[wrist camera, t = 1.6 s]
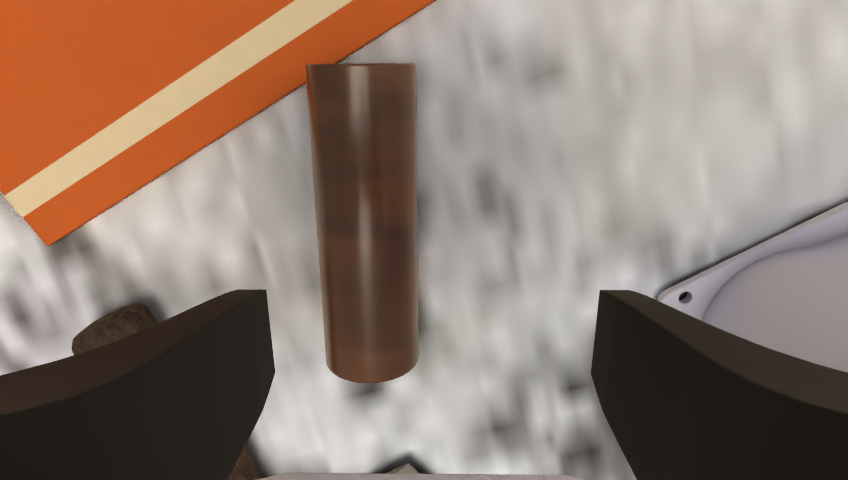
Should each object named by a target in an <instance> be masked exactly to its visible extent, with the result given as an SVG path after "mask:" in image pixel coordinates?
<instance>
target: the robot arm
mask: <svg viewBox="0 0 848 480" xmlns="http://www.w3.org/2000/svg"><path fill="white" fill-rule="evenodd" d="M686 291H687V292H688V294H687V296H686V297H685V298H684V299H681V300H679V296H680V294H681V293H683V292H686ZM274 374H275V368H274V358H273V349H272V340H271V331H270V322H269V312H268V303H267V294H266V290H235V291H231V292H228V293H225V294H223V295H220V296H218V297H215V298H213V299H211V300H209V301H206V302H204V303H202V304H200V305H198V306H195V307H193V308H191V309H189V310H187V311H184V312H182V313H180V314H178V315H176V316H174V317H171V318H169V319H167V320H165V321H162V322H160V323H158V324H155V325H153V326H150V327H148V328H146V329H143V330H141V331H139V332H136V333H134V334H131V335H129V336H127V337H124V338H122V339H119V340H117V341H114V342H111V343H109V344H106V345H103V346H100V347H98V348H95V349H92V350H89V351H86V352H83V353H80V354H77V355H74V356H71V357H68V358H64V359H61V360H58V361H54V362H51V363H47V364H43V365H39V366H35V367H32V368H28V369H24V370H20V371H16V372H13V373H9V374H5V375H1V376H0V480H228V478H229V476H230V475H231V473H232V471H233V469H234V467H235V465H236V463H237V461H238V459H239V457H240V455H241V453H242V451H243V449H244V447H245V445H246V443H247V441H248V439H249V437H250V435H251V433H252V431H253V429H254V427H255V425H256V423H257V421H258V419H259V417H260V415H261V413H262V411H263V408H264V405H265V402H266V399H267V396H268V393H269V390H270V387H271V384H272V380H273V377H274ZM591 375H592V379H593V382H594V385H595V388H596V392H597V395H598V398H599V401H600V404H601V407H602V409H603V412H604V414H605V417H606V419H607V421H608V423H609V425H610V427H611V429H612V431H613V433H614V435H615V437H616V439H617V441H618V443H619V445H620V447H621V449H622V451H623V453H624V455H625V457H626V459H627V461H628V463H629V465H630V467H631V469H632V471H633V473H634V475H635V477H636V479H637V480H848V201H847V202H845V203H843V204H841V205H839V206H837V207H835V208H833V209H831V210H829V211H826V212H824V213H822V214H820V215H818V216H816V217H814V218H812V219H810V220H808V221H806V222H804V223H802V224H800V225H798V226H796V227H794V228H791V229H789V230H787V231H785V232H783V233H781V234H779V235H777V236H775V237H773V238H771V239H769V240H767V241H765V242H763V243H761V244H759V245H756V246H754V247H752V248H750V249H748V250H746V251H744V252H742V253H740V254H738V255H736V256H734V257H732V258H730V259H728V260H726V261H724V262H721V263H719V264H717V265H715V266H713V267H711V268H709V269H707V270H705V271H703V272H701V273H699V274H697V275H695V276H693V277H691V278H689V279H686V280H684V281H682V282H680V283H678V284H676V285H674V286H672V287H670V288H668V289H666V290H664V291H663V292H661V294H660V295H659V296H658V300H655V299H653V298H650V297H648V296H645V295H643V294H640V293H637V292H634V291H630V290H600V294H599V303H598V312H597V322H596V331H595V340H594V350H593V359H592V368H591ZM257 480H586V479H581V478H577V477H573V476H568V475H494V474H359V473H284V474H280V475H275V476H271V477H266V478H261V479H257Z"/></svg>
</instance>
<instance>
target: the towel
mask: <svg viewBox="0 0 848 480" xmlns="http://www.w3.org/2000/svg"><path fill="white" fill-rule="evenodd" d="M434 1H435V0H0V191H1V192H2V193H3V194H4V195H5V196H4V197H5V198H6V199H7V201H8V202H9V203H10V204H11V205H12V207H13V208H14V209H15V210H16V211H17V212H18V214H19V215H20V216H21V217H23V218H24V219H25V220H26V221H27V223H28V224H29V225H30V226H31V227H32V228H33V230H34V231H35V232H36V233H37V234H38V236H39V237H40V238H41V239H42V240H43V242H44V243H45V244H46V245H47V246H50V245H52V244H54V243H55V242H57V241H59V240H60V239H62V238H63V237H65V236H66V235H68V234H70V233H71V232H73V231H74V230H76V229H77V228H79V227H81V226H82V225H84V224H85V223H87V222H88V221H90V220H92V219H93V218H95V217H96V216H98V215H99V214H101V213H103V212H104V211H106V210H107V209H109V208H110V207H112V206H114V205H115V204H117V203H118V202H120V201H121V200H123V199H125V198H126V197H128V196H129V195H131V194H132V193H134V192H136V191H137V190H139V189H140V188H142V187H143V186H145V185H147V184H148V183H150V182H151V181H153V180H154V179H156V178H158V177H159V176H161V175H162V174H164V173H165V172H167V171H168V170H170V169H172V168H173V167H175V166H176V165H178V164H179V163H181V162H183V161H184V160H186V159H187V158H189V157H190V156H192V155H194V154H195V153H197V152H198V151H200V150H201V149H203V148H205V147H206V146H208V145H209V144H211V143H212V142H214V141H216V140H217V139H219V138H220V137H222V136H223V135H225V134H227V133H228V132H230V131H231V130H233V129H234V128H236V127H238V126H239V125H241V124H242V123H244V122H245V121H247V120H249V119H250V118H252V117H253V116H255V115H256V114H258V113H260V112H261V111H263V110H264V109H266V108H267V107H269V106H271V105H272V104H274V103H275V102H277V101H278V100H280V99H282V98H283V97H285V96H286V95H288V94H289V93H291V92H293V91H294V90H296V89H297V88H299V87H300V86H302V85H304V84H305V83H307V81H306V67H305V66H306V64H337V63H338V62H340V61H341V60H343V59H344V58H346V57H348V56H349V55H351V54H352V53H354V52H355V51H357V50H359V49H360V48H362V47H363V46H365V45H366V44H368V43H370V42H371V41H373V40H374V39H376V38H377V37H379V36H381V35H382V34H384V33H385V32H387V31H388V30H390V29H392V28H393V27H395V26H396V25H398V24H399V23H401V22H403V21H404V20H406V19H407V18H409V17H410V16H412V15H413V14H415V13H417V12H418V11H420V10H421V9H423V8H424V7H426V6H428V5H429V4H431V3H432V2H434Z"/></svg>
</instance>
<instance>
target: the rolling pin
mask: <svg viewBox="0 0 848 480" xmlns="http://www.w3.org/2000/svg"><path fill="white" fill-rule="evenodd" d="M305 67H306V81H307V95H308V109H309V123H310V137H311V151H312V165H313V179H314V193H315V207H316V221H317V235H318V249H319V263H320V277H321V292H322V306H323V320H324V334H325V348H326V362H327V366H328V367H329V369H330V370H331V371H332V373H334V374H335V375H336V376H338V377H340V378H342V379H345V380H348V381H352V382H359V383H378V382H384V381H389V380H393V379H395V378H398V377H400V376H403V375H404V374H406V373H408V372H409V371H410V370H411V369H412V368H413V367H414V366H415V365H416V363H417V361H418V357H419V348H418V233H417V117H416V64H414V63H360V64H306V66H305Z"/></svg>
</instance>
